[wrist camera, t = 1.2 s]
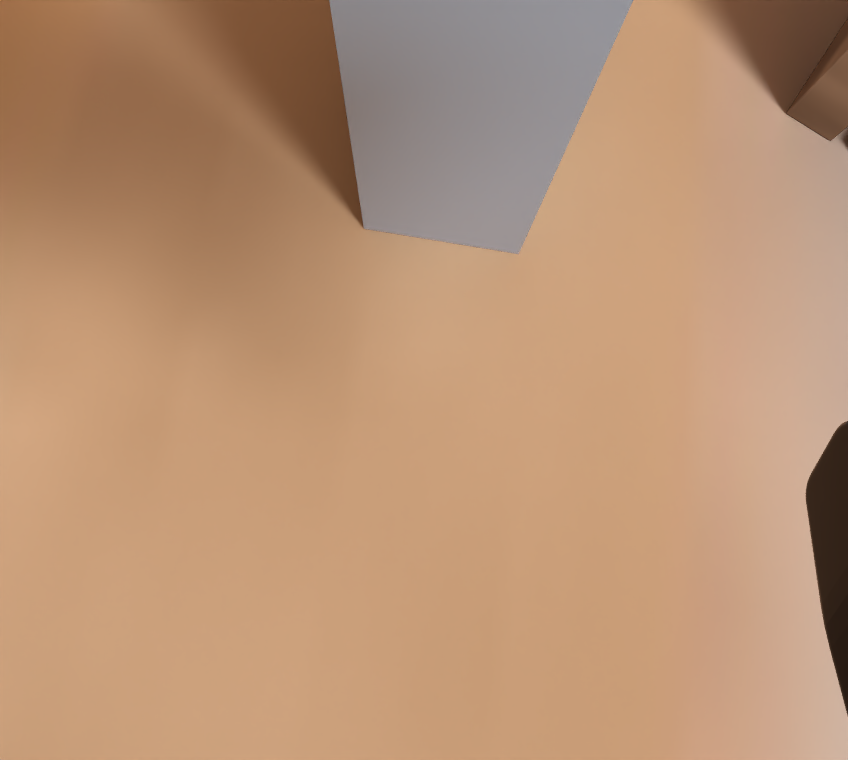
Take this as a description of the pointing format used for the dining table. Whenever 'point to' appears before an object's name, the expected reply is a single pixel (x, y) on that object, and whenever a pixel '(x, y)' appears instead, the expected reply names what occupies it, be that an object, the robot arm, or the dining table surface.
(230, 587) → the dining table surface
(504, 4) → the tall grey prism
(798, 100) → the brown hollow brick
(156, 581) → the dining table surface
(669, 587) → the dining table surface
